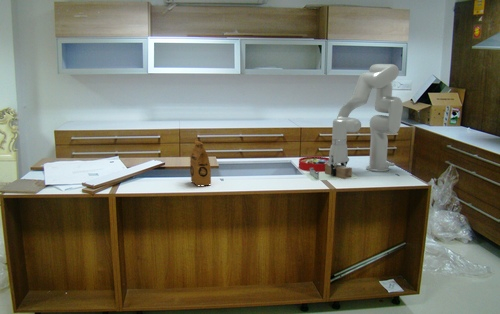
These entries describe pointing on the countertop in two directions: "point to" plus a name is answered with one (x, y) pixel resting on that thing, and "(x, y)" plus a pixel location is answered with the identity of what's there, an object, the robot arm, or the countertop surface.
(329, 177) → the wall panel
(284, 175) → the countertop surface
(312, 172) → the screw rail
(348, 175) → the brown rectangular block
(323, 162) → the toy clock
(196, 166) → the coffee package
